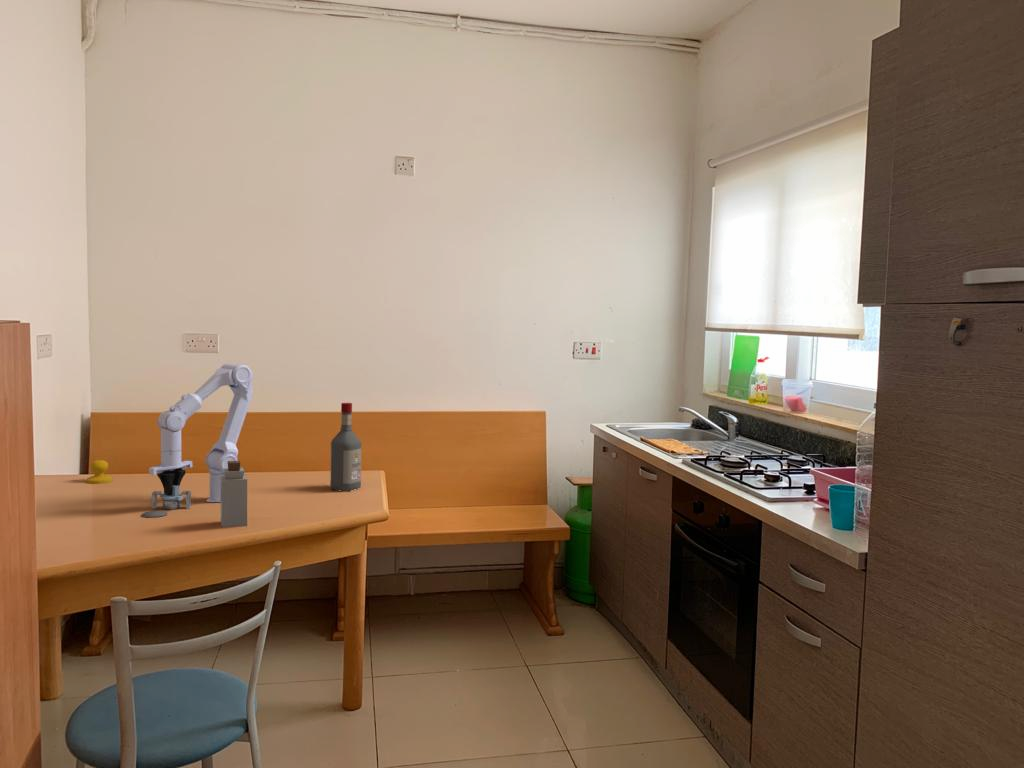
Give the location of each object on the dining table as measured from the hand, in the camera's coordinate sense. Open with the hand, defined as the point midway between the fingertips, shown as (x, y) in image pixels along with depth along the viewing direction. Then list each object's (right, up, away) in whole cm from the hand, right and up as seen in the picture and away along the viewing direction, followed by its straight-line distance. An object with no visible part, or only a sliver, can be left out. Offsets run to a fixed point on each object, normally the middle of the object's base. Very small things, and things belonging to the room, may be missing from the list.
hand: (171, 494), depth 241 cm
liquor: (+46, -3, +34) cm, 57 cm away
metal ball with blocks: (0, -4, 0) cm, 4 cm away
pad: (-1, -5, -8) cm, 10 cm away
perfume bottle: (+24, -7, -15) cm, 29 cm away
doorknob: (-40, 0, +34) cm, 52 cm away
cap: (0, -1, 0) cm, 1 cm away
